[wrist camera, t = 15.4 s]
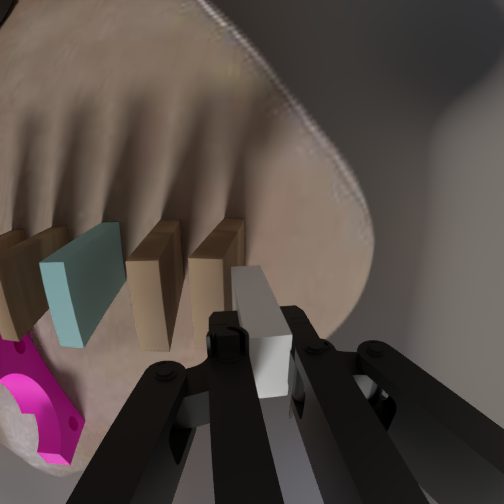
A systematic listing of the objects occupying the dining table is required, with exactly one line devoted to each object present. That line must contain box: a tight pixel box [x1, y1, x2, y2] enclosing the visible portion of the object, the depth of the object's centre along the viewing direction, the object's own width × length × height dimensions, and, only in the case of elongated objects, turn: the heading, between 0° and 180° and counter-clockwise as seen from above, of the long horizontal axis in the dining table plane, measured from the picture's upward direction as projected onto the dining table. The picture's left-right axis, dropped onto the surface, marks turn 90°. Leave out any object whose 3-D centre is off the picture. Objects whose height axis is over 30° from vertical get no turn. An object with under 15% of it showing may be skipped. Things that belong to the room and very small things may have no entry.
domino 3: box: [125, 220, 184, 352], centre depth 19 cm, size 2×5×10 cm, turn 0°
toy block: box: [0, 333, 85, 465], centre depth 22 cm, size 15×6×8 cm, turn 14°
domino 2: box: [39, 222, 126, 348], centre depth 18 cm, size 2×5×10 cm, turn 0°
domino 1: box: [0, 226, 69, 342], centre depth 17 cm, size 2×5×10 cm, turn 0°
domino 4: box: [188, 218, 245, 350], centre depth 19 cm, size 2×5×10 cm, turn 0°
